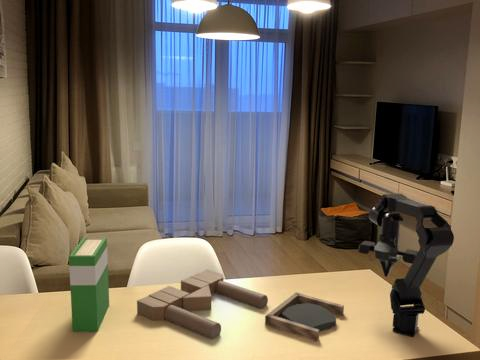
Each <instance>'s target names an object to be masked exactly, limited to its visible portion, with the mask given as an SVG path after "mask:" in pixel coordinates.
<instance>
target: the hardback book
mask: <svg viewBox="0 0 480 360" xmlns="http://www.w3.org/2000/svg"><path fill="white" fill-rule="evenodd" d="M108 257H109V256H108V237H107V236H104V237H103V238H102V239H88V238H87V236H84V237H82V239H81V240H80V242H79V243H77V244H76V246H75V248H74V249H73V250H72V251H71V253H70V254H69V255H68V264H69V265H68V266H69V268H68V269H69V283H70V285H69V287H70V302H71V304H70V305H71V321H72V322H71V324H72V325H71V326H72V333H98V332H99V329H100V328H101V325H102V324H103V321H104V318H105V316H106V314H107V312H108V309H109V307H110V291H109V290H110V287H109V261H108V260H109V259H108Z"/></svg>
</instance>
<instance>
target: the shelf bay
mask: <svg viewBox="0 0 480 360" xmlns="http://www.w3.org/2000/svg"><path fill="white" fill-rule="evenodd" d="M304 303H309V304H316V305H319V306H322V307H324V308H325V309H327V310H329V311H330V312H331V313H332V314H333V315H338V316H340V317H341V316H343V315H344V310H345V309H344V308H345V307H344V306H345V305H344V304H339V303H336V302H332V301H328V300H326V299H325V300H324V299H322V298H318V297H314V296H309V295H306V294H303V293H300V292H295V293H293V294H292V295H290V296H289V297H288V298H286V300H284V301H282V303H280V304H279V305H278V306H276V307H275V308H274V309H272V310H271V311H270V312H269V313H266V315H265V316H264V318H265V319H264V325H265V326H268V327H272V328H274V329H278V330H281V331H283V332H286V333H290V334H293V335H296V336H299V337H302V338H305V339H309V340H312V341H313V342H317V341H319V340H320V332H319V329H315V328H312V327H309V326H306V325H302V324H299V323H296V322H293V321H289V320H286V319H283V318H281V317H282V311H283V310H284V309H285V308H287V307H290V306H293V305H297V304H304Z"/></svg>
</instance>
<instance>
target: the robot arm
mask: <svg viewBox="0 0 480 360" xmlns="http://www.w3.org/2000/svg"><path fill="white" fill-rule="evenodd" d="M401 214H403V215H407V216H411V217H413V218H415V220H416V226H415V231H416V235H417V237H418V240H417V242H418V245H419V250H416V249H415V250H414V249H409V248H407V249H406V250H405V251H403V250H399V240H400V238H399V237H400V235H401V234H400V228H401V227H400V225H401V222H404V218H403V216H402V215H401ZM368 219H369V220H370V222H372V223H374V224H375V225H377V226H378V227H380V228H381V229H380V234H379V238H378V240H377V243H376V242H374V241H368V240H364V241H362V242H360V243H359V245H358V248H357V249H358V251H357V252H358V253H360V254H365V255H368V254H369V253H370V252H374V258H375V259H377V260H378V261H379V262H380V265H381V268H382V271H383V276H384V277H386V278H388V277H389V275H390V273H391V271H392V269H393V266H394V264H395V263H398V262H399V260H402V261H403V262H404V263H408V264H411V265H410V267H409V268H408V271H407V273H406V275H405V277H402V278H396V279H395V280H394V282H393V284H392V285H391V290H390V293H389V300H390V309H391V310H392V313H393V320H392V327H393V328H392V332H394V333H395V332H396V333H399V334H401V335H405V336H410V337H413V338H414V337H415V336H416V334H417V333H418V331H419V328H420V327H419V326H418V325H419V324H418V323H419V315H420V314H422V315H423V314H425V311H426V307H425V304H424V301H423V298H422V295H423V294H422V290H421V286H422V284H423V282H424V280H425V279H426V277H427V275H428V273H429V272H430V270H431V268H432V266H433V265H434V263H435V261H436V260H437V258H438V257H439V256H441V255H443V254H444V253H446V252H447V251H448V250H449V249H450V248H451V247H452V246H453V244H454V242H455V241H454V240H455V236H454V233H453V231H452V228H451V227H450V223H449V222H448V221H447V220H446V219H445V218H443V216H442V215H440V214H439V212H438V211H437V209H436V207H435V206H434V205H430V204H429V205H428V204H425V203H421V202H417V201H414V200H410V199H408V197H407V196H406V195H404V194H402V193H383V194H382V195H381V197H380V198H379V200H378V201H377V203H375V204H374V206H373V207H372V208H371V209H370V211H369V212H368ZM424 220H430V222H432V223H433V224H434V225H435V227H425V226H424Z"/></svg>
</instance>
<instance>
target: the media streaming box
mask: <svg viewBox="0 0 480 360" xmlns="http://www.w3.org/2000/svg"><path fill="white" fill-rule="evenodd" d="M280 318H283V319H286V320H289V321H293V322H296V323H299V324H302V325H306V326H309V327H312V328H315V329H319V333H320V332H323V331H327V330H330V329H333V328H335V327H336V324H337V317H336V314H333V313H331V312H330V311H329V310H327V309H325V308H324V307H322V306H319V305H316V304H309V303H304V304H298V303H297V304H296V305H293V306H290V307H287V308H285V309H284V310H283V311H282V316H281V317H280Z"/></svg>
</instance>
